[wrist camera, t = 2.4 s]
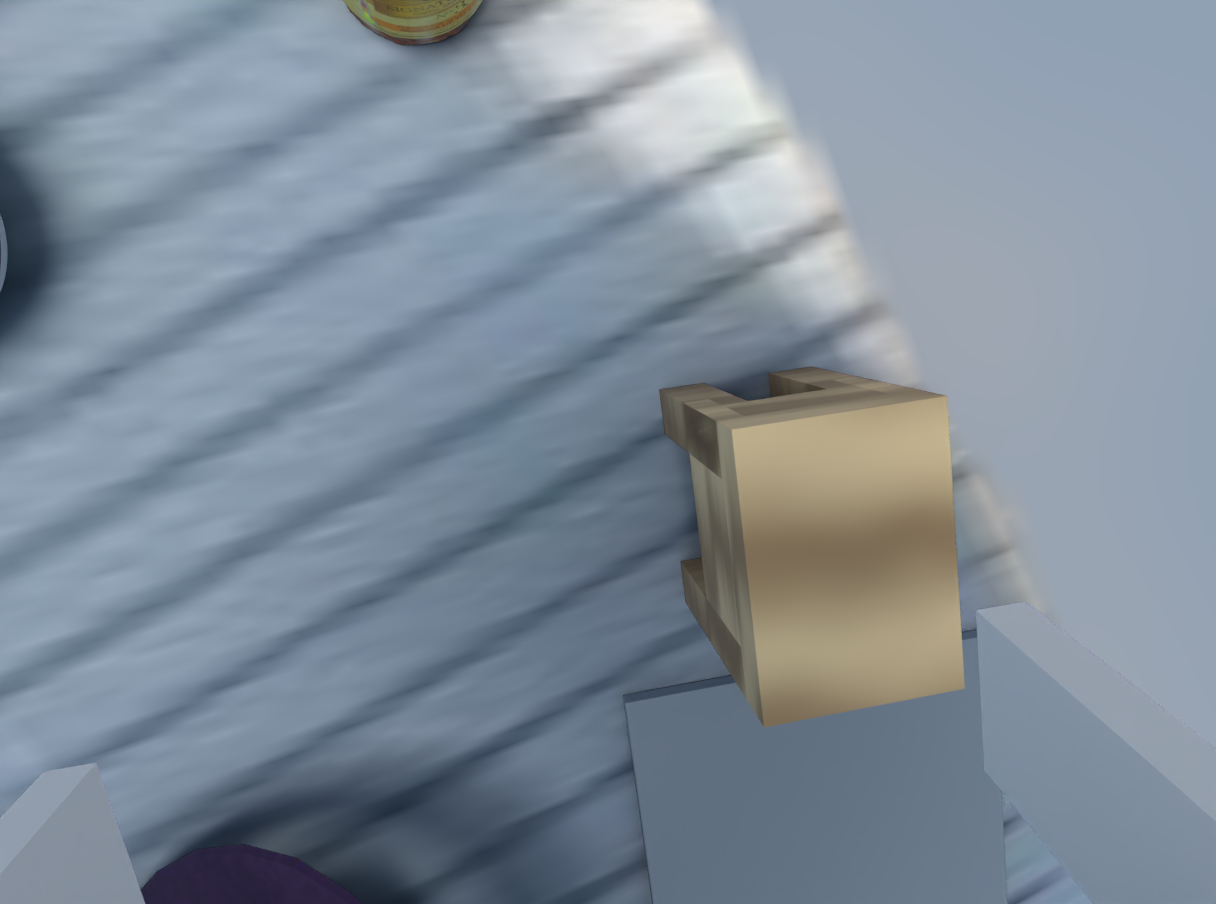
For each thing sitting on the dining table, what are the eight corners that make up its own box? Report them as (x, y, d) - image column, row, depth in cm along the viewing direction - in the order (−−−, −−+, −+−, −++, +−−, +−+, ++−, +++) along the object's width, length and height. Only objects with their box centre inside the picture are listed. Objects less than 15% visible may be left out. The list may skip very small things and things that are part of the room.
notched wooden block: (830, 576, 41) (964, 688, 29) (685, 602, 40) (763, 727, 28) (811, 366, 39) (947, 395, 27) (659, 389, 38) (731, 429, 27)
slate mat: (1001, 946, 46) (1010, 957, 45) (669, 1021, 44) (672, 1034, 43) (984, 628, 42) (993, 634, 42) (622, 695, 41) (625, 703, 40)
